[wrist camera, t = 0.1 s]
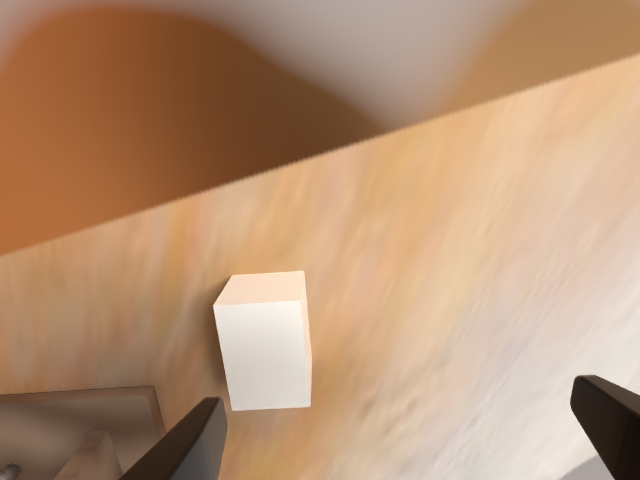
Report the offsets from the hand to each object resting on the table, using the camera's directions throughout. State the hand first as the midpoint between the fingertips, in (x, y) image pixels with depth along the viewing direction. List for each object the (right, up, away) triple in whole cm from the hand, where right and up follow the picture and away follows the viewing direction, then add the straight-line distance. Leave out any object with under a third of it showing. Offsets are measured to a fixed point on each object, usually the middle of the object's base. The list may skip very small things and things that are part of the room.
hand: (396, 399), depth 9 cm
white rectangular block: (-5, -2, +16) cm, 17 cm away
